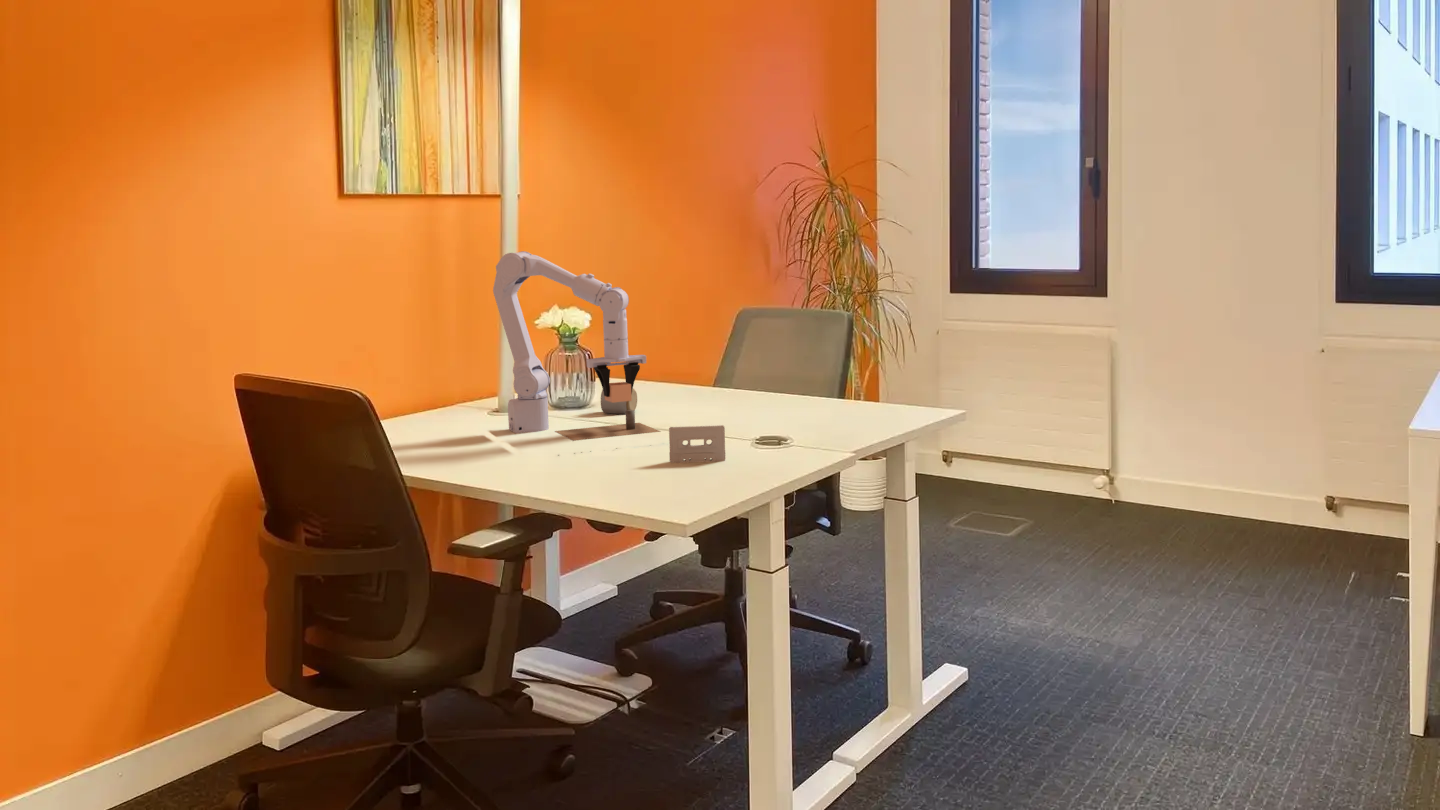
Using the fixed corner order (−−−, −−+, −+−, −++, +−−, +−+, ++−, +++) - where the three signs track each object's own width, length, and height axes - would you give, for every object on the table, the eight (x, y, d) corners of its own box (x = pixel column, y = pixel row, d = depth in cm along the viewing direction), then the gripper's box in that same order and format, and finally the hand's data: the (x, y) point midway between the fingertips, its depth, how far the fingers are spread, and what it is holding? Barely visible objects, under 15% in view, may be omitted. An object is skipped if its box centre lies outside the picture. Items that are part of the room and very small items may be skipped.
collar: (611, 402, 293) (611, 386, 292) (604, 399, 297) (604, 383, 297) (631, 400, 295) (631, 384, 294) (624, 398, 299) (623, 381, 299)
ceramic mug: (629, 416, 323) (628, 387, 322) (600, 415, 325) (599, 386, 324) (643, 410, 333) (642, 382, 332) (615, 409, 335) (614, 381, 334)
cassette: (669, 463, 263) (668, 428, 262) (669, 461, 265) (668, 426, 264) (725, 461, 264) (725, 426, 263) (725, 459, 266) (724, 424, 265)
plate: (573, 444, 286) (572, 421, 285) (554, 435, 298) (553, 412, 297) (660, 435, 295) (660, 412, 294) (639, 426, 307) (638, 404, 306)
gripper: (592, 342, 287) (594, 400, 289) (650, 338, 293) (652, 394, 295) (582, 340, 294) (585, 396, 296) (639, 335, 300) (641, 391, 302)
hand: (618, 395), depth 296 cm, fingers closed on collar, 5 cm apart
